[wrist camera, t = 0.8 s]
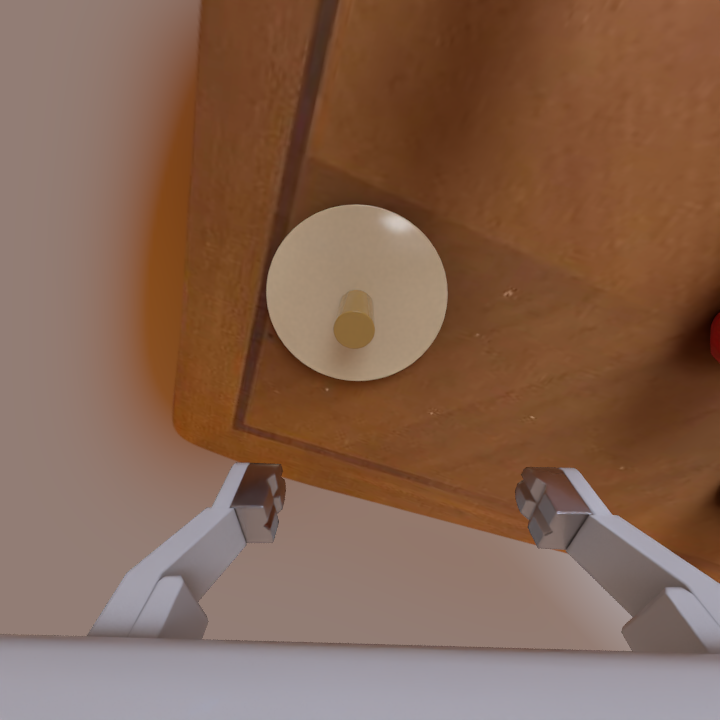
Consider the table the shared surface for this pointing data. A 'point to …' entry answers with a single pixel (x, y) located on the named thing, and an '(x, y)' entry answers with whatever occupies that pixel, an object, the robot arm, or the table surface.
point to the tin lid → (356, 292)
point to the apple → (715, 338)
